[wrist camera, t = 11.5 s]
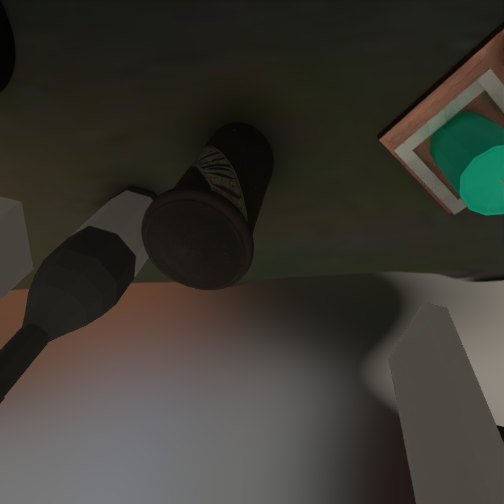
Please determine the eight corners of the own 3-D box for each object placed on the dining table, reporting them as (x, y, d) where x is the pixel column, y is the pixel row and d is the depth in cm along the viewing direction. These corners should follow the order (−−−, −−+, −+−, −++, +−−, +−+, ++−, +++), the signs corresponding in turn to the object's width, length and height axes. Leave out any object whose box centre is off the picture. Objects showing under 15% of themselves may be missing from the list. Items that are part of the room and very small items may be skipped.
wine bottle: (160, 182, 47) (-16, 376, 23) (176, 238, 52) (43, 452, 27) (103, 187, 49) (-120, 372, 24) (123, 240, 53) (-50, 445, 29)
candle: (457, 180, 40) (501, 237, 30) (415, 147, 39) (447, 196, 29) (507, 134, 37) (576, 181, 27) (464, 97, 36) (518, 132, 26)
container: (264, 111, 41) (226, 183, 24) (285, 187, 45) (265, 291, 29) (193, 132, 43) (114, 210, 27) (219, 202, 48) (165, 305, 31)
